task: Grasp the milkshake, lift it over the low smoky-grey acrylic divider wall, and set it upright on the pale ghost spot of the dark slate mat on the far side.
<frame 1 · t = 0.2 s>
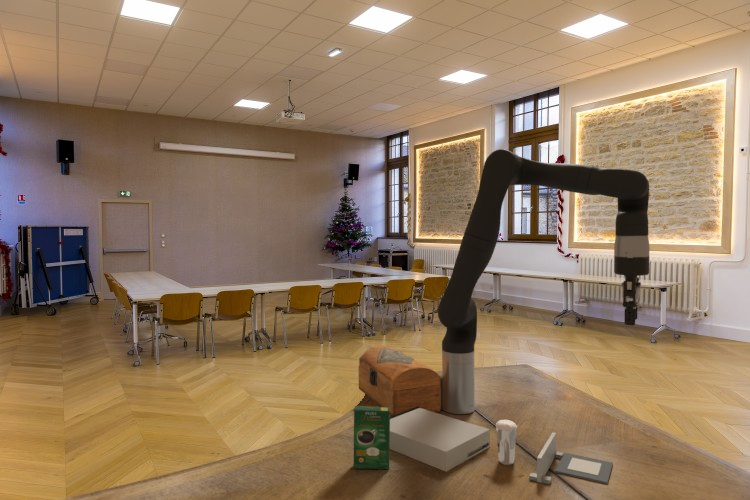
hand: (631, 322, 119), 29 cm above the table, fingers open, 8 cm apart
wooden box: (395, 400, 153), on the table
coffee box: (372, 467, 108), on the table
milkshake: (508, 462, 110), on the table
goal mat: (584, 468, 106), on the table
disc drive: (430, 446, 119), on the table
divider wall: (547, 467, 107), on the table
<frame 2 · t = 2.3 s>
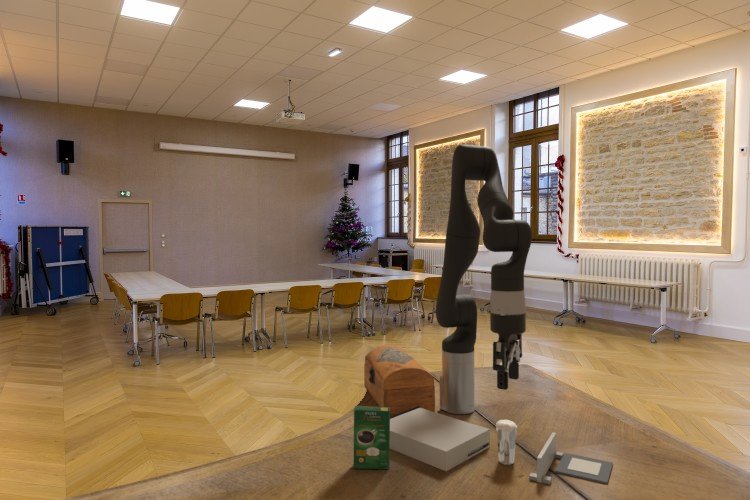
hand: (508, 383, 109), 17 cm above the table, fingers open, 8 cm apart
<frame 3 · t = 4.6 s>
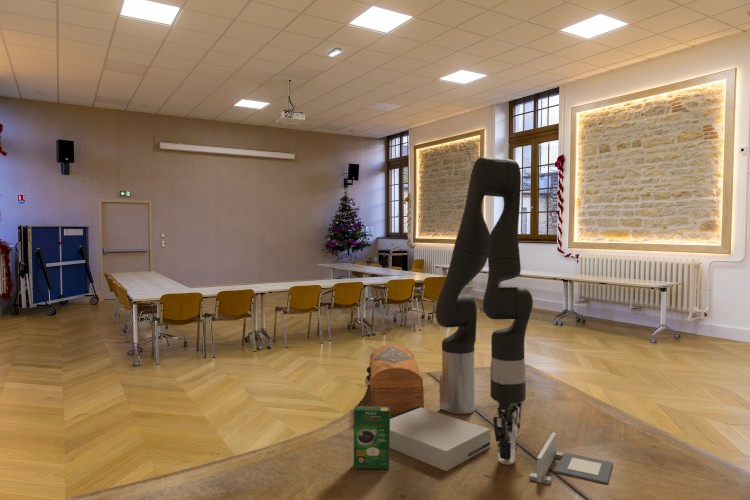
hand: (508, 454, 109), 2 cm above the table, fingers closed on milkshake, 4 cm apart
milkshake: (508, 462, 110), on the table, touching gripper
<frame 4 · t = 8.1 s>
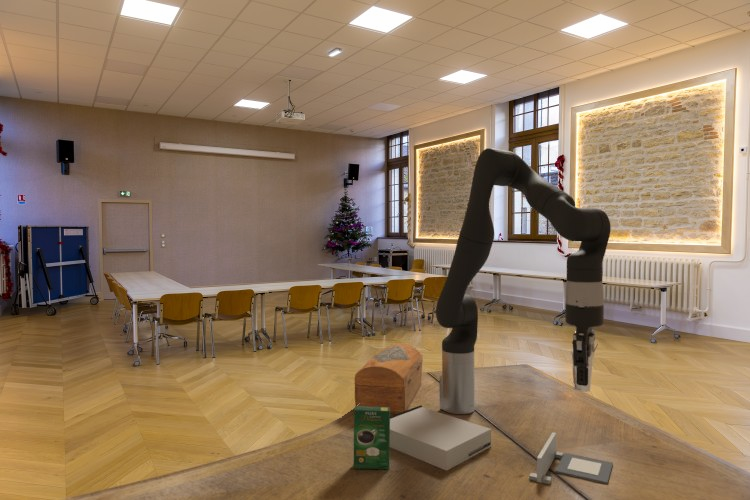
hand: (584, 381, 106), 19 cm above the table, fingers closed on milkshake, 4 cm apart
wooden box: (389, 397, 155), on the table
milkshake: (584, 390, 106), point 17 cm above the table, touching gripper
everything else where it was.
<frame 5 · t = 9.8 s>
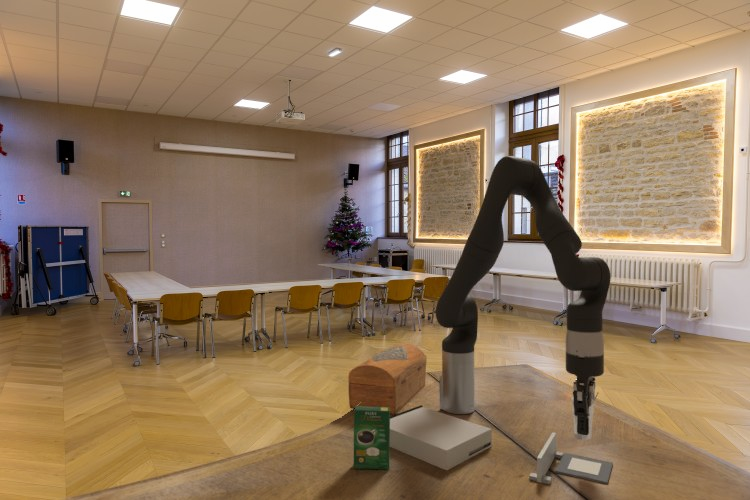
hand: (584, 429, 106), 8 cm above the table, fingers closed on milkshake, 4 cm apart
milkshake: (584, 438, 106), point 6 cm above the table, touching gripper
when the fingers open (4 cm above the table, at t = 11.5 s): milkshake drops 1 cm, resting on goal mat.
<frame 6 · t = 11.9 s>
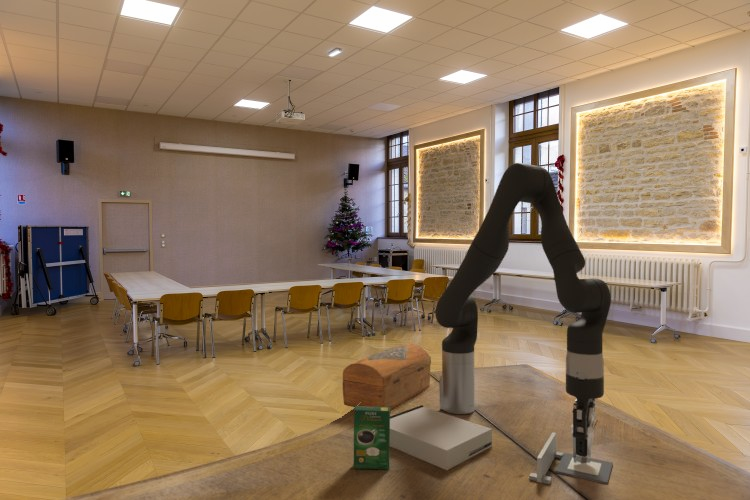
hand: (584, 448, 106), 4 cm above the table, fingers open, 7 cm apart
milkshake: (584, 466, 106), resting on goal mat
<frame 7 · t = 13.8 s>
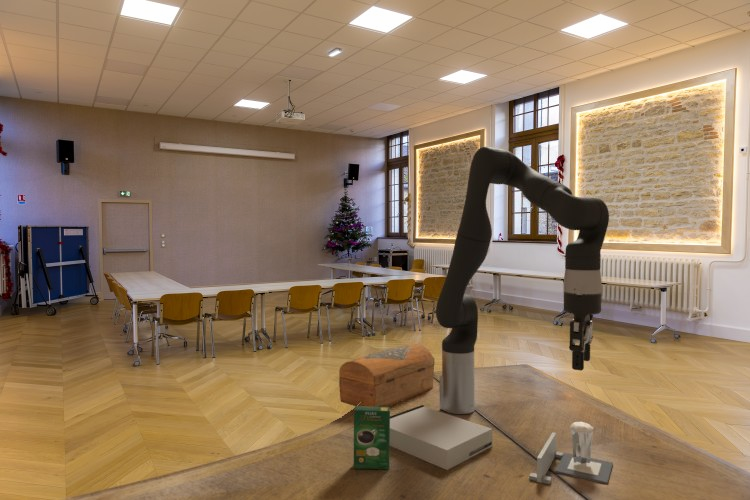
hand: (581, 364, 107), 22 cm above the table, fingers open, 8 cm apart
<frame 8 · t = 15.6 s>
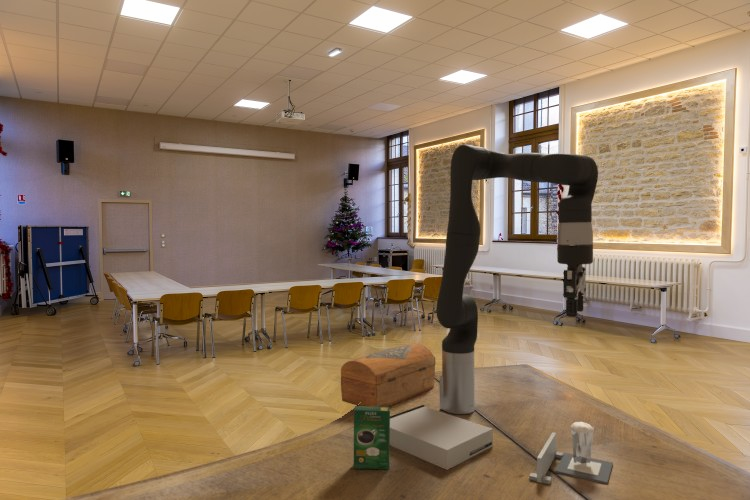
hand: (575, 313, 113), 32 cm above the table, fingers open, 8 cm apart
at the end: milkshake 0.3 cm off-centre on the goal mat, point 0.3 cm above the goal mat's base; milkshake tilted 0°; the gripper is holding nothing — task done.
